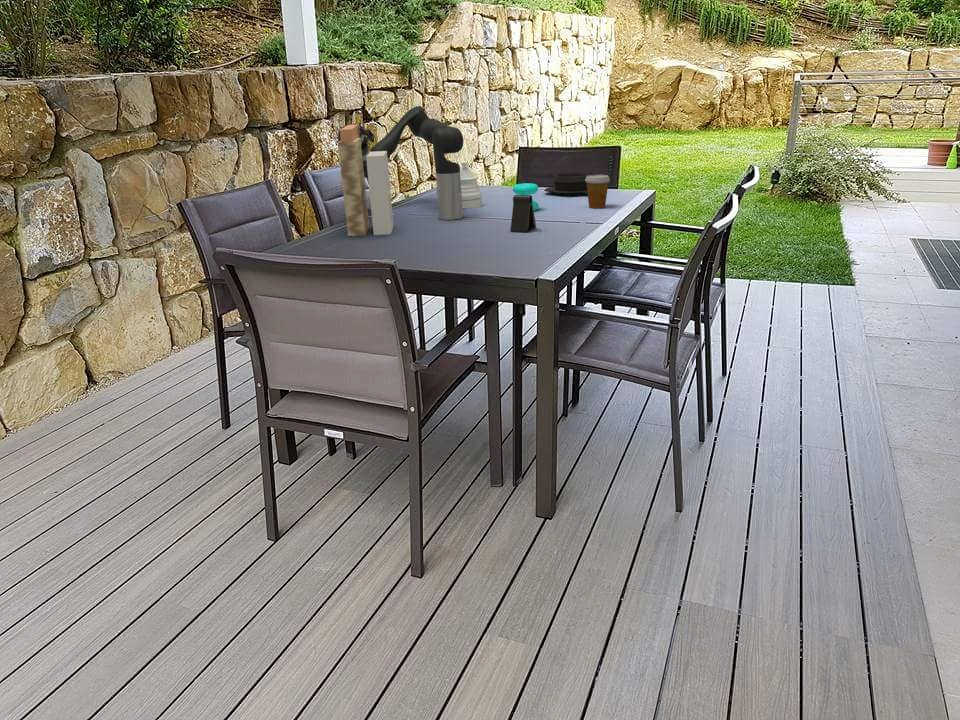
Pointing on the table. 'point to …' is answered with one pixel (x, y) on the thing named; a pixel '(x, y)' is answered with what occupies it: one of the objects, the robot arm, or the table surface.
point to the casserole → (569, 184)
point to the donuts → (527, 191)
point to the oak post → (354, 187)
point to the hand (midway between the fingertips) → (352, 127)
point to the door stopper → (522, 214)
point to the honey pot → (469, 188)
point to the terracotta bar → (349, 133)
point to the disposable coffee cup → (597, 190)
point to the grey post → (380, 192)
